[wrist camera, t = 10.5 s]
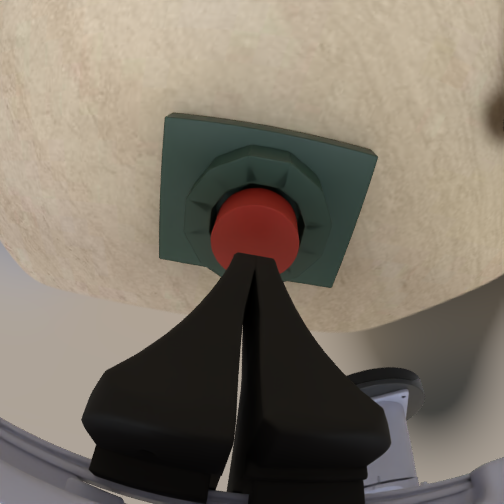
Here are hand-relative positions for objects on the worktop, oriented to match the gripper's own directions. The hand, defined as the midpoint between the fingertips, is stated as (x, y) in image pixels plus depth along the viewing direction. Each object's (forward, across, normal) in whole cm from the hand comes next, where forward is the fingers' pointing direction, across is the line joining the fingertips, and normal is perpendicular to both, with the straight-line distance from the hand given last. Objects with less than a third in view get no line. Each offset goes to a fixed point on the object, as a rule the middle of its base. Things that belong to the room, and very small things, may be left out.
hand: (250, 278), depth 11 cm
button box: (+6, 0, 0) cm, 6 cm away
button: (+4, 0, 0) cm, 4 cm away
